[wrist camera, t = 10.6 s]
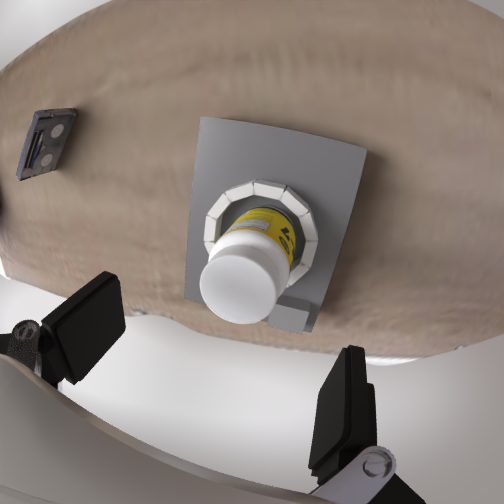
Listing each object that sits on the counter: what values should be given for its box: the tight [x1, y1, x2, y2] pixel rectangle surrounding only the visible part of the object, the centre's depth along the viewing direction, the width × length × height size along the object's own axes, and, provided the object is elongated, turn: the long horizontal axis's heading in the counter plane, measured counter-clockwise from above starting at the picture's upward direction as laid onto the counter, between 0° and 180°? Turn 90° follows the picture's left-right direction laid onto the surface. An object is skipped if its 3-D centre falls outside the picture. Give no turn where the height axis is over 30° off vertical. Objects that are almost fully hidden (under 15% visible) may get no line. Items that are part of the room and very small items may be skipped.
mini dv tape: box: [16, 108, 78, 181], centre depth 23 cm, size 8×2×6 cm, turn 139°
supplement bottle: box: [200, 206, 296, 324], centre depth 17 cm, size 5×5×8 cm
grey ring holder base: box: [184, 117, 367, 334], centre depth 22 cm, size 12×16×5 cm
